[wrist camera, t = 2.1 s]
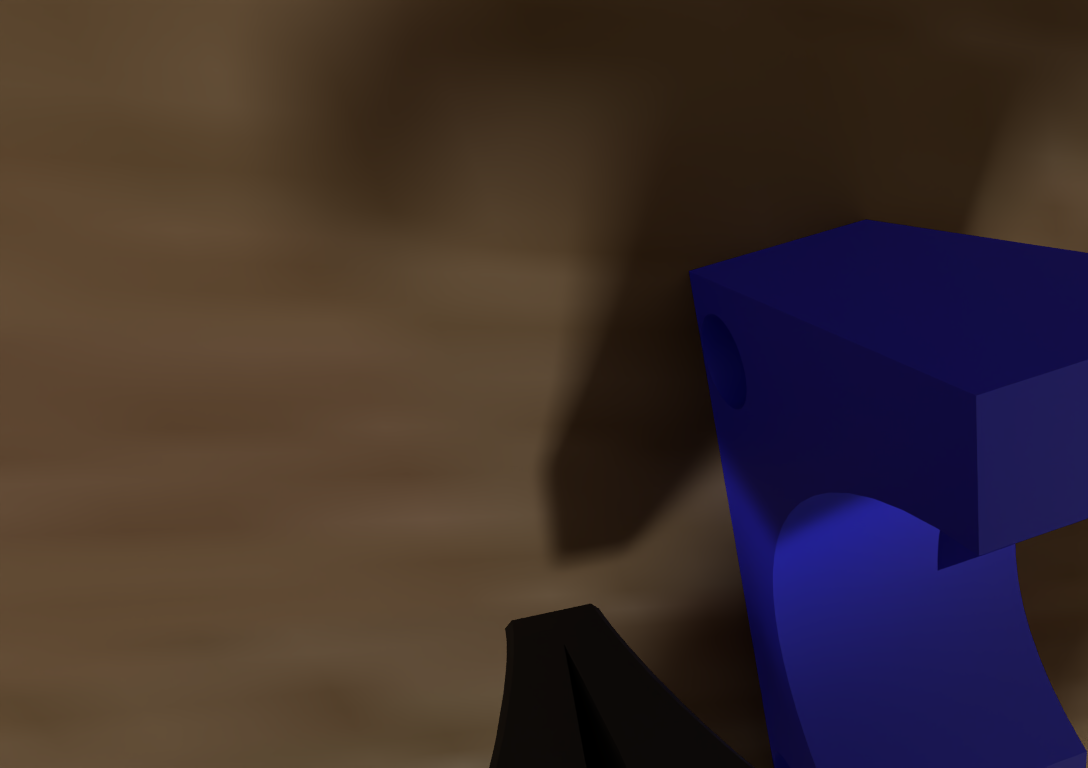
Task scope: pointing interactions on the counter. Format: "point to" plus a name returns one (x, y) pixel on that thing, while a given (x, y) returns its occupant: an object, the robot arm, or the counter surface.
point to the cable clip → (899, 485)
